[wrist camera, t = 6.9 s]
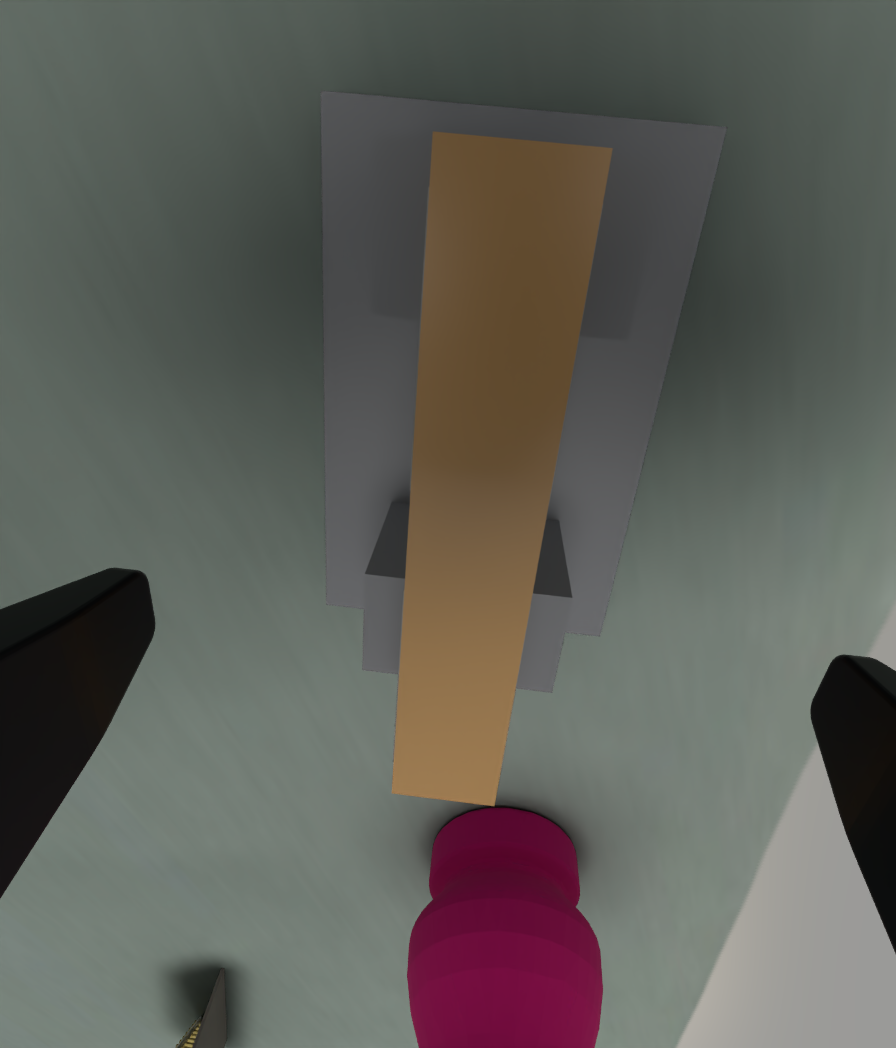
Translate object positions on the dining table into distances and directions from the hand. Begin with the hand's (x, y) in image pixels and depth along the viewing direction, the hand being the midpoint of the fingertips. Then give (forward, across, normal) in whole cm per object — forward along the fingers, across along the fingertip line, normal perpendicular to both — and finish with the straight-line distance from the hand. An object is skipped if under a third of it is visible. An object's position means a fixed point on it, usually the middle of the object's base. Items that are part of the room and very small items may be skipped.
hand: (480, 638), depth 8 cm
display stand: (+11, 0, 0) cm, 11 cm away
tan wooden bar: (+6, 0, 0) cm, 6 cm away
